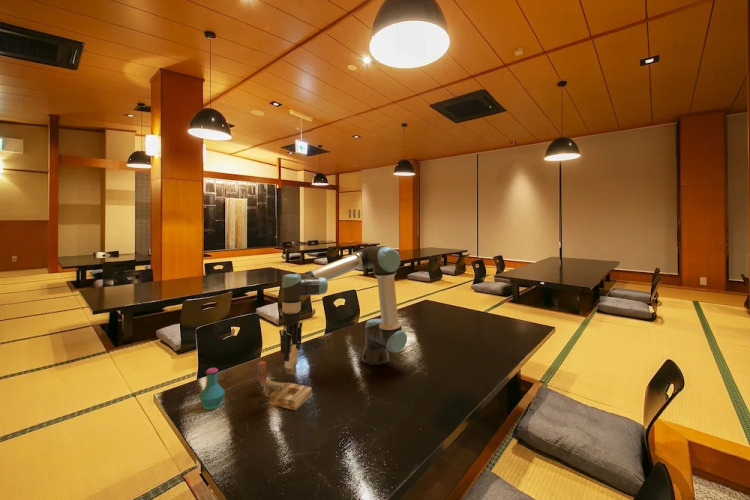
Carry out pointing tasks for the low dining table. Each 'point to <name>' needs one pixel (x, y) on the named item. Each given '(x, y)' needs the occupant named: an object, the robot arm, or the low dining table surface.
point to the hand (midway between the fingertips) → (291, 365)
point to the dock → (289, 395)
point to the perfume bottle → (212, 391)
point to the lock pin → (262, 377)
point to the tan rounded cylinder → (292, 360)
